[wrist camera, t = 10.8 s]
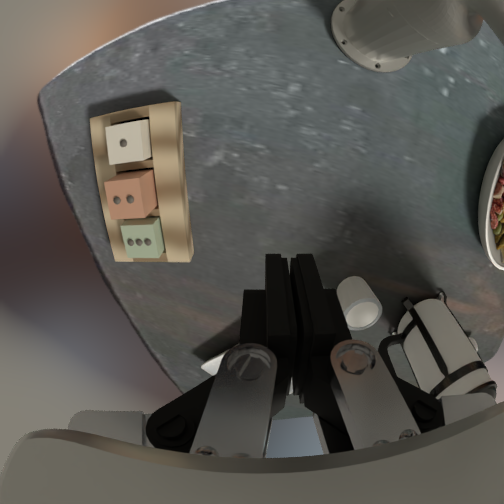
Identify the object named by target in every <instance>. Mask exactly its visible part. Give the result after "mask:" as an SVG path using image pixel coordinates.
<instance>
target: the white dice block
mask: <svg viewBox="0 0 504 504" xmlns="http://www.w3.org/2000/svg"><path fill="white" fill-rule="evenodd" d="M105 129H106V139H107V148H108V157H109V164H110V165H113V164H120V163H127V162H135V161H143V160H146V159H148V158H150V157H152V156H153V155H152V145H151V133H150V119H147V120H140V121H134V122H129V123H123V124H119V125H114V126H109V127H105Z"/></svg>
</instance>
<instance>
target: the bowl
mask: <svg viewBox="0 0 504 504" xmlns="http://www.w3.org/2000/svg"><path fill="white" fill-rule="evenodd" d="M478 227H479V235H480V240H481V244H482V247H483V249H484V251H485V254H486V255H487V257H488V259H489V260H490V261H491V262H492V263H493V264H494V265H495V266H496V267H497V268H499V269H501V270H504V139H503V140H502V141H501V142H500V143H499V145H498V146H497V148H496V149H495V151H494V153H493V154H492V156H491V158H490V161H489V163H488V166H487V168H486V171H485V174H484V178H483V182H482V186H481V191H480V197H479V206H478Z"/></svg>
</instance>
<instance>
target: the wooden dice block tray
mask: <svg viewBox="0 0 504 504" xmlns="http://www.w3.org/2000/svg"><path fill="white" fill-rule="evenodd" d="M145 117H149V119H150V133H151V145H152V155H153V157H150V158H148V159H146V160H143V161H135V162H127V163H120V164H113V165H110V164H109V157H108V148H107V139H106V129H105V127H109V126H114V125H119V124H120V122H123V121H128V120H134V119H139V118H145ZM90 127H91V137H92V146H93V154H94V162H95V169H96V175H97V181H98V187H99V193H100V198H101V203H102V208H103V213H104V217H105V222H106V226H107V231H108V235H109V239H110V243H111V247H112V251H113V254H114V258H115V261H128V262H190V261H191V258H192V256H193V254H194V248H193V240H192V232H191V223H190V215H189V205H188V196H187V185H186V175H185V163H184V150H183V135H182V118H181V102H175V101H174V102H167V103H160V104H154V105H148V106H142V107H137V108H132V109H127V110H122V111H118V112H113V113H109V114H105V115H101V116H97V117H93V118H90ZM151 167H154V174H155V182H156V190H157V198H158V205H157V206H156V207H155V208H154V209H153V210H152V211H151V212H150V213H149V214H148V215H147V216H160V218H161V225H162V231H163V237H164V242H165V249H164V251H163V253H162V254H161V256H160V257H159V258H128V257H127V253H126V249H125V244H124V240H123V236H122V231H121V227H120V226H121V225H122V224H123V223H124V222H125V221H126V220H127V219H115V220H111V217H110V212H109V207H108V202H107V197H106V191H105V185H104V182H105V181H107V180H109V179H111V178H112V177H114V176H116V175H118V174H120V173H123V172H126V171H125V170H133V169H142V168H151Z"/></svg>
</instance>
